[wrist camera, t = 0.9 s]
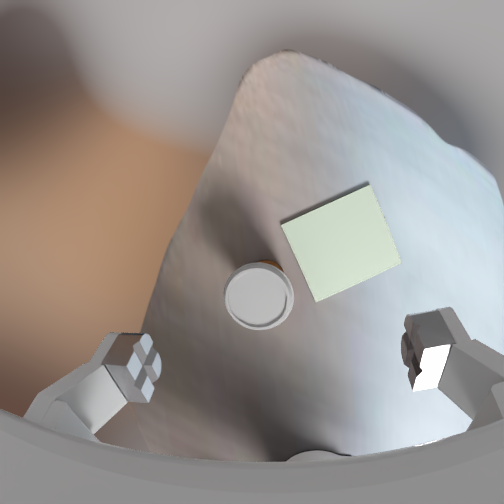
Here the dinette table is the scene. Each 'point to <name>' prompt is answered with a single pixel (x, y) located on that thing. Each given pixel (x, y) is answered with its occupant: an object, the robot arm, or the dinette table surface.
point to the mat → (342, 243)
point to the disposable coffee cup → (259, 295)
